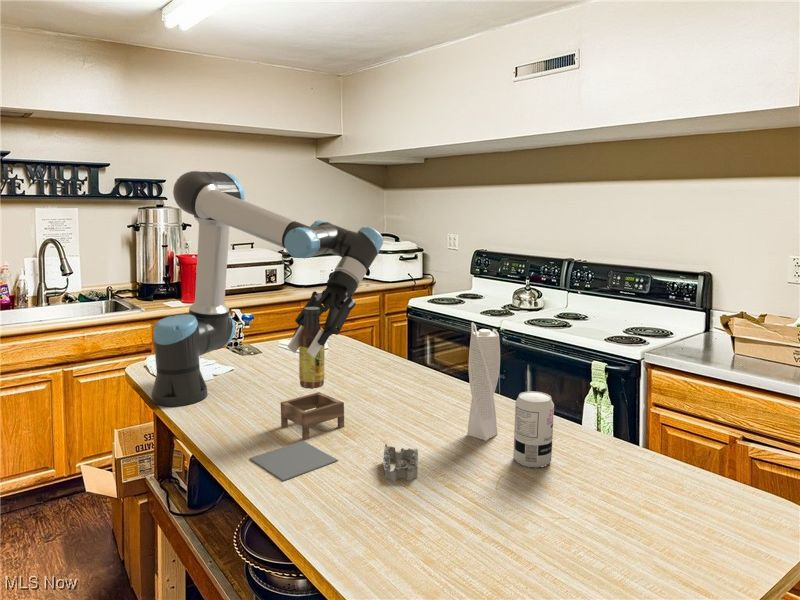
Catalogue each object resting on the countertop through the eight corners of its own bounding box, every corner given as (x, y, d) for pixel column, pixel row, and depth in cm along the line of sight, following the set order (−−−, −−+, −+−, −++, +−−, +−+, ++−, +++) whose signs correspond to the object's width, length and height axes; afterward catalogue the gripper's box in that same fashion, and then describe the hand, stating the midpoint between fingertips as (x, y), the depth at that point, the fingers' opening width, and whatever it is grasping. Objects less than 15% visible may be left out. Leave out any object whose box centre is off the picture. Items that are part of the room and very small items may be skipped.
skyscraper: (459, 434, 146) (461, 323, 141) (476, 425, 152) (479, 318, 147) (486, 443, 141) (490, 328, 136) (503, 434, 147) (507, 323, 142)
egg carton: (384, 459, 133) (384, 442, 133) (417, 460, 133) (417, 442, 132) (382, 482, 123) (382, 463, 122) (418, 482, 123) (418, 463, 122)
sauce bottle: (319, 390, 145) (319, 311, 141) (295, 388, 146) (294, 310, 143) (328, 382, 152) (327, 306, 148) (305, 380, 153) (303, 304, 149)
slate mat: (249, 459, 133) (249, 457, 132) (302, 441, 142) (302, 440, 142) (283, 481, 122) (283, 480, 122) (337, 461, 132) (337, 459, 132)
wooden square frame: (281, 426, 151) (280, 402, 150) (319, 415, 159) (319, 392, 158) (305, 439, 143) (304, 414, 142) (344, 426, 151) (343, 402, 150)
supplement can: (509, 453, 136) (511, 390, 133) (544, 452, 136) (547, 390, 134) (519, 470, 128) (521, 403, 125) (556, 468, 128) (559, 402, 126)
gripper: (380, 291, 151) (337, 367, 141) (326, 283, 162) (282, 353, 153) (367, 272, 146) (320, 350, 136) (312, 266, 157) (266, 337, 147)
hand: (300, 352), depth 144 cm, fingers closed on sauce bottle, 6 cm apart
